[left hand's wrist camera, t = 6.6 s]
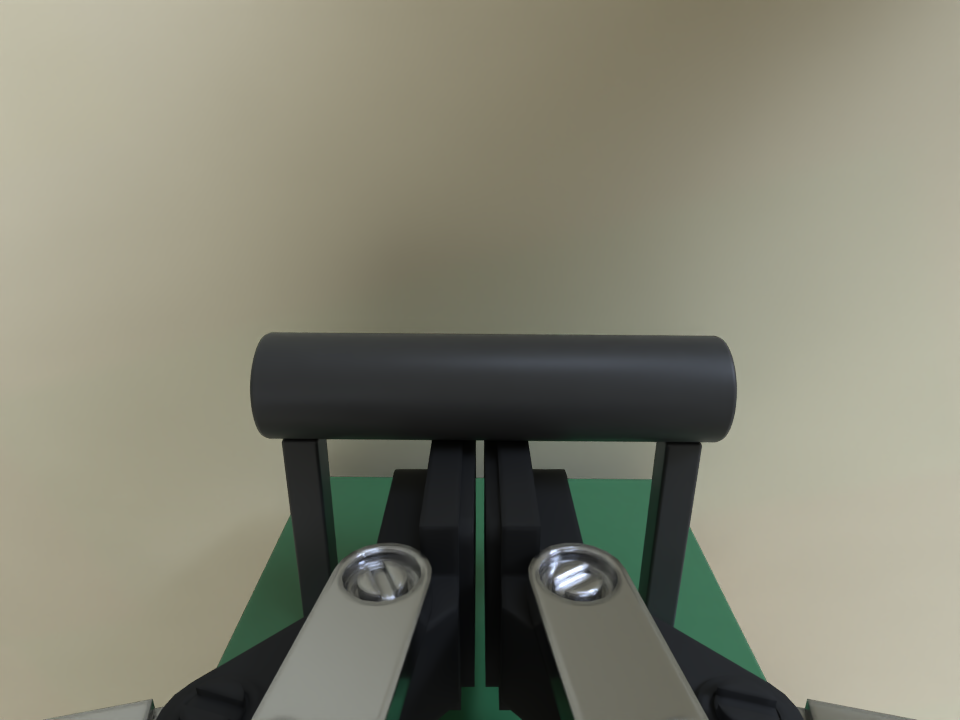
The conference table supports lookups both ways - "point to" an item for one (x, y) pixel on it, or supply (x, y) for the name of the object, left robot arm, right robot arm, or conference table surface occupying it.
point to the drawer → (496, 416)
